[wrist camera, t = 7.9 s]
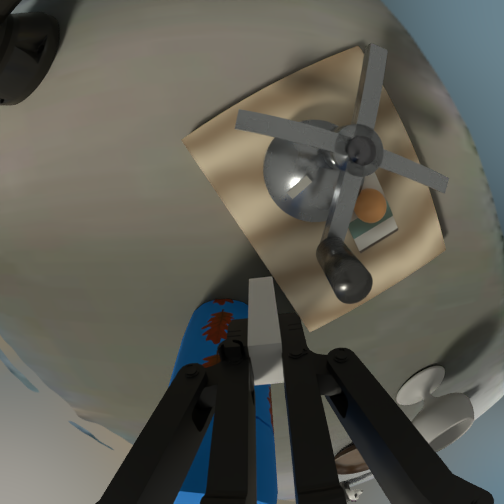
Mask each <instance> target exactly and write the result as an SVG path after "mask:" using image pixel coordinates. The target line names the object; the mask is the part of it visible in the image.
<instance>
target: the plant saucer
mask: <svg viewBox="0 0 504 504" xmlns="http://www.w3.org/2000/svg"><path fill="white" fill-rule="evenodd" d="M334 459H335V463H336V468H337V474H341V475H342V474H353V473H358V472H362V471H365V470H369V467H368V466H367V464H366V463H365V461H364V459H363V458H362V456H361V455H360V453H359V451H358V450H357V448H356V446H355V445H354V444H353V445H351V446H349V447H347V448H345V449H344V450H342V451H341V452H340V453H338V454H337V455H336V456H335V458H334Z"/></svg>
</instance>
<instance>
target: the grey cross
mask: <svg viewBox="0 0 504 504" xmlns="http://www.w3.org/2000/svg"><path fill="white" fill-rule="evenodd" d="M387 51H388V50H386V49H384V48H382V47H380V46H377V45H375V44H373V43H370V44H369V45H368V46H366V47H365V52H364V58H363V64H362V70H361V75H360V81H359V86H358V92H357V97H356V102H355V107H354V112H353V116H352V121H351V125H345V126H337V125H335V124H333V123H330V122H327V121H322V120H305V121H300V122H297V121H293V120H289V119H285V118H280V117H276V116H271V115H267V114H262V113H257V112H252V111H247V110H241V109H239V111H238V115H237V120H236V124H235V130H240V131H245V132H250V133H255V134H260V135H265V136H270V137H274V138H273V140H272V141H271V142H270V144H269V146H268V148H267V150H266V153H265V156H264V160H263V177H264V181H265V185H266V187H267V190H268V192H269V194H270V196H271V198H272V199H273V201H274V202H275V203H276V205H277V206H278V207H279V208H280V209H281V210H283V211H284V212H285V213H287V214H288V215H290V216H292V217H294V218H296V219H299V220H302V221H307V222H322V221H326V224H325V227H324V231H323V234H322V238H321V241H320V244H319V245H318V247H317V249H316V258H317V261H318V262H319V264H320V266H321V268H322V270H323V272H324V274H325V276H326V278H327V279H328V281H329V283H330V285H331V287H332V289H333V291H334V293H335V295H336V297H337V298H338V300H340V301H341V302H343V303H346V304H354V303H357V302H360V301H361V300H363V299H364V298H365V297H366V296H367V295H368V294H369V293H370V291H371V289H372V285H373V279H372V276H371V274H370V273H369V271H368V270H367V269H366V268H365V266H364V265H363V264H362V263H361V262H360V260H359V259H358V258H357V257H356V256H355V255H354V253H353V252H352V251H351V250H350V249H349V248H348V246H347V245H346V244H345V243H344V240H345V236H346V233H347V230H348V227H349V224H350V220H351V217H352V214H353V210H354V207H355V203H356V200H357V198H358V196H359V194H360V192H361V190H362V187H363V183H364V178H365V176H368V175H371V174H372V173H374V172H375V171H376V170H377V169H378V168H381V169H384V170H387V171H390V172H392V173H395V174H398V175H400V176H403V177H405V178H408V179H410V180H413V181H415V182H418V183H420V184H423V185H425V186H427V187H430V188H432V189H434V190H437V191H439V192H442V193H445V191H446V187H447V183H448V179H449V178H448V177H446V176H444V175H442V174H440V173H438V172H436V171H434V170H431V169H429V168H427V167H425V166H423V165H421V164H418V163H416V162H414V161H412V160H409V159H407V158H404V157H402V156H400V155H397V154H395V153H392V152H390V151H387V150H385V149H383V144H382V141H381V139H380V137H379V136H378V134H377V133H376V132H375V131H374V127H375V122H376V117H377V112H378V107H379V102H380V97H381V91H382V85H383V79H384V73H385V66H386V59H387Z"/></svg>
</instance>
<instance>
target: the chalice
mask: <svg viewBox="0 0 504 504" xmlns="http://www.w3.org/2000/svg"><path fill="white" fill-rule="evenodd" d="M444 375H445V369H444V368H443V367H442V366H432V367H429V368H427V369H424V370H422V371H421V372H419V373H417V374H416V375H414V376H413V377H412V378H410V379H409V380H408V381H407V382H406V383H405V384H404V385H403V386H402V387H401V389H400V390H399V392H398V394H397V397H396V400H397V402H398V404H401V405H411V404H414V403H417V402H419V401H421V400H423V399H424V406H423V408H422V409H421V411H420V412H419V413H418V414H417V415H416V416H415V418H414V419H413V421H412V424H413V425H414V426H415V427H416V429H417V430H418V431H419V432H420V433H421V435H422V436H423V437H424V438H425V440H426V441H427V442H428V443H429V445H430V446H431V447H432V448H433V450H434V451H435V452H438V451H440V450H442V449H443V448H445V447H447V446H448V445H450V444H452V443H453V442H454V441H456V440H457V439H458V438H460V437H461V436H462V435H463V434H464V433H465V432H466V431H467V430H468V429H469V428H470V427H471V425H472V424H473V421H474V411H473V407H472V404H471V401H470V399H469V398H468V396H466V395H464V394H463V393H451V394H447V395H444V396H441V397H433V396H432V395H431V393H433V392H434V391H435V390H436V389H437V388H438V386H439V385H440V384H441V382H442V380H443V378H444Z"/></svg>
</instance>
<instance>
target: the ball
mask: <svg viewBox="0 0 504 504" xmlns="http://www.w3.org/2000/svg"><path fill="white" fill-rule="evenodd" d="M386 209H387V204H386V200H385V198H384V196H383V195H382V194H381V193H380V192H379V191H378V190H376V189H372V188H366V189H363V190H361V192H360V194H359V196H358V198H357V200H356V203H355V207H354V212H355V214H356V216H357V217H358V218H359V219H360V220H362V221H363V222H366V223H375V222H377V221H379V220H381V219H382V218H383V216H384V215H385V213H386Z"/></svg>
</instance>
